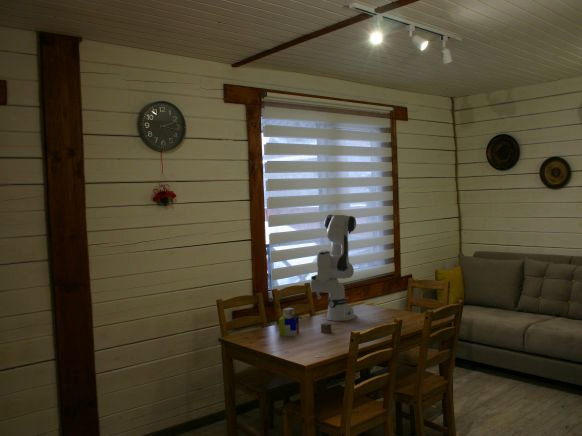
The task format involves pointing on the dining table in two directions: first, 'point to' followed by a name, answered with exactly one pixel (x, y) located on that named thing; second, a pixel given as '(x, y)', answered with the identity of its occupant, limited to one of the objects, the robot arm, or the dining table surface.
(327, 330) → the block walnut
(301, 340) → the dining table surface
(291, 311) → the block birch
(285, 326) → the puzzle toy
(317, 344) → the dining table surface
